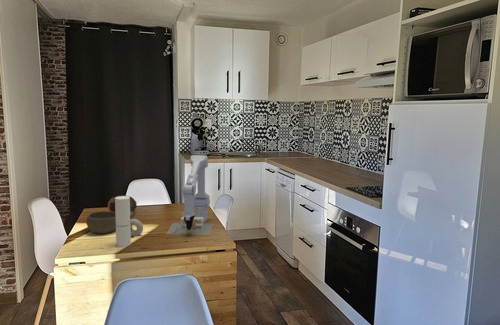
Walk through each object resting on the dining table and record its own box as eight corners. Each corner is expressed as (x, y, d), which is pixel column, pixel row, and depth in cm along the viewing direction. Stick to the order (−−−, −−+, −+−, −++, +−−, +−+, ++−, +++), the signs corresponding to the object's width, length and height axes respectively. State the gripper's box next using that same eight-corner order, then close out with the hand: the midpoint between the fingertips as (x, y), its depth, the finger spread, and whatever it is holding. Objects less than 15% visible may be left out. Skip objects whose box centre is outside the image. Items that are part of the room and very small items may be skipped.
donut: (124, 236, 204) (124, 219, 202) (127, 234, 207) (127, 217, 206) (141, 238, 202) (141, 220, 200) (144, 236, 205) (144, 218, 204)
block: (189, 226, 221) (189, 220, 221) (195, 226, 221) (195, 220, 221) (188, 228, 217) (188, 221, 217) (194, 228, 217) (195, 222, 217)
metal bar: (175, 228, 218) (175, 226, 217) (177, 228, 218) (177, 226, 218) (172, 233, 208) (172, 231, 208) (174, 233, 208) (174, 231, 208)
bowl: (125, 228, 218) (125, 212, 217) (106, 237, 201) (106, 220, 200) (101, 225, 222) (100, 209, 221) (80, 234, 205) (79, 217, 204)
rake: (186, 228, 217) (186, 217, 216) (196, 229, 217) (196, 217, 216) (183, 233, 207) (183, 221, 206) (194, 234, 207) (194, 222, 206)
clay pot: (142, 193, 259) (129, 194, 234) (143, 214, 258) (131, 218, 233) (121, 195, 259) (106, 196, 234) (123, 217, 258) (108, 220, 233)
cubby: (172, 224, 228) (172, 214, 227) (213, 224, 228) (213, 214, 227) (166, 235, 207) (165, 224, 206) (210, 236, 207) (210, 225, 207)
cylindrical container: (132, 242, 195) (131, 196, 192) (128, 247, 188) (127, 199, 185) (118, 242, 195) (117, 196, 191) (114, 246, 188) (113, 199, 184)
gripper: (184, 202, 213) (184, 225, 215) (180, 208, 198) (180, 233, 200) (196, 202, 213) (196, 225, 215) (193, 209, 199) (193, 233, 200)
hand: (189, 229), depth 208 cm, fingers closed on rake
